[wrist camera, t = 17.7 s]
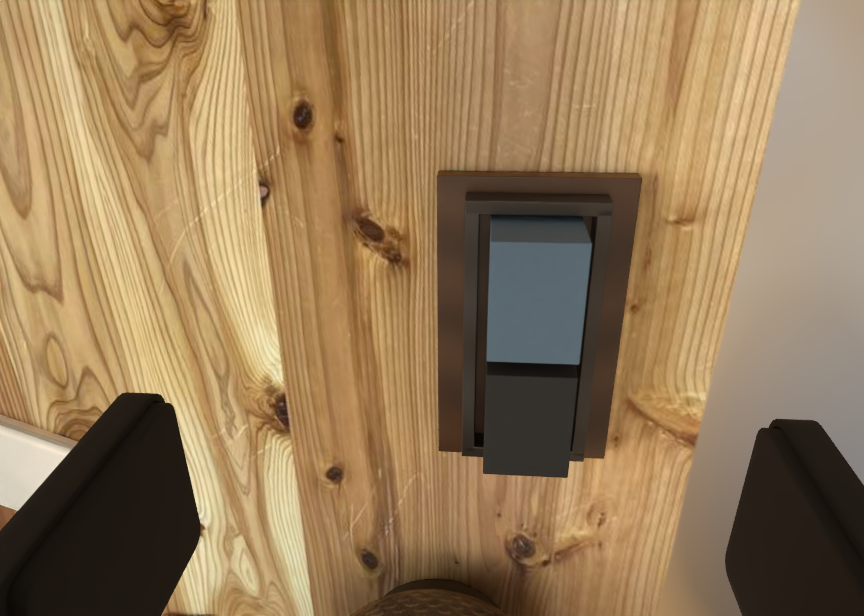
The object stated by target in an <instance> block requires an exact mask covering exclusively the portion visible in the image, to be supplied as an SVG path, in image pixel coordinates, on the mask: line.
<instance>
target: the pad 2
mask: <svg viewBox="0 0 864 616" xmlns="http://www.w3.org/2000/svg"><path fill="white" fill-rule="evenodd" d="M577 383H578V377H577V372H576V367H575V364H547V363H519V362H491V361H487V350H486V381H485V413H484V451H483V473H484V474H500V475H520V476H541V477H562V478H567V477H568V468H569V458H570V449H571V440H572V430H573V421H574V411H575V402H576V393H577Z"/></svg>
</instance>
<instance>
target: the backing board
mask: <svg viewBox="0 0 864 616" xmlns="http://www.w3.org/2000/svg"><path fill="white" fill-rule="evenodd" d="M641 183H642V178H641V176H640V175H639V174H638V173H562V172H485V171H438V174H437V258H438V411H439V451H449V452H462V456H474V457H483V451H484V413H485V381H486V350H487V316H488V285H489V254H490V222H491V215H531V216H582V217H583V220H584V223H585V226H586V228H587V231H588V234H589V237H590V240H591V243H592V251H591V260H590V270H589V279H588V288H587V298H586V307H585V317H584V326H583V335H582V345H581V354H580V363H579V365H575V367H576V372H577V377H578V383H577V393H576V402H575V411H574V421H573V430H572V440H571V449H570V458H569V461H581V462H583V461H584V458H601V459H604V455H605V448H606V440H607V433H608V426H609V418H610V411H611V404H612V396H613V389H614V382H615V374H616V367H617V359H618V352H619V345H620V337H621V330H622V323H623V315H624V308H625V301H626V293H627V286H628V279H629V271H630V264H631V256H632V249H633V242H634V234H635V227H636V220H637V212H638V205H639V198H640V190H641Z"/></svg>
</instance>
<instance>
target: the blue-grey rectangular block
mask: <svg viewBox="0 0 864 616" xmlns="http://www.w3.org/2000/svg"><path fill="white" fill-rule="evenodd" d="M591 251H592V243H591V240H590V237H589V234H588V231H587V228H586V226H585V223H584V220H583V217H582V216H531V215H491V222H490V254H489V285H488V316H487V361H491V362H519V363H547V364H575V365H579V363H580V354H581V345H582V335H583V326H584V317H585V307H586V298H587V288H588V279H589V270H590V260H591Z"/></svg>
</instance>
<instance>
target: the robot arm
mask: <svg viewBox="0 0 864 616" xmlns="http://www.w3.org/2000/svg"><path fill="white" fill-rule="evenodd" d="M199 537H200V520H199V516H198V511H197V507H196V503H195V498H194V494H193V489H192V485H191V480H190V476H189V471H188V467H187V463H186V458H185V454H184V449H183V445H182V440H181V436H180V431H179V427H178V423H177V418H176V414H175V410H174V407H173V406H172V404H170V403H165V401H164V399H163V397H162V396H161V395H159V394H150V393H122V394H121V395H120V396H118V397H117V399H116V400H115V401H114V402H113V403H112V404H111V405H110V406H109V408H108V409H107V410H106V411H105V412H104V413H103V414H102V416H101V417H100V418H99V419H98V420H97V421H96V422H95V424H94V425H93V426H92V427H91V428H90V429H89V430H88V432H87V433H86V434H85V435H84V436H83V437H82V438H81V440H80V441H79V442H78V443H77V444H76V445H75V446H74V448H73V449H72V450H71V451H70V452H69V453H68V454H67V456H66V457H65V458H64V459H63V460H62V461H61V462H60V463H59V465H58V466H57V467H56V468H55V469H54V470H53V471H52V473H51V474H50V475H49V476H48V477H47V478H46V479H45V481H44V482H43V483H42V484H41V485H40V486H39V487H38V489H37V490H36V491H35V492H34V493H33V494H32V495H31V497H30V498H29V499H28V500H27V501H26V502H25V503H24V505H23V506H22V507H21V508H20V509H19V510H18V511H17V513H16V514H15V515H14V516H13V517H12V518H11V519H10V521H9V522H8V523H7V524H6V525H5V526H4V527H3V528H2V530H1V531H0V616H161V615H162V613H163V611H164V609H165V607H166V605H167V603H168V601H169V599H170V597H171V595H172V593H173V591H174V589H175V588H176V586H177V584H178V582H179V580H180V578H181V576H182V574H183V572H184V570H185V568H186V566H187V564H188V562H189V560H190V558H191V556H192V554H193V553H194V551H195V549H196V546H197V544H198V541H199ZM725 564H726V572H727V576H728V579H729V582H730V585H731V587H732V590H733V592H734V595H735V597H736V600H737V602H738V605H739V608H740V611H741V613H742V616H864V485H863V484H862V483H861V481H860V480H859V478H858V477H857V475H856V474H855V473H854V471H853V470H852V468H851V467H850V466H849V464H848V463H847V461H846V460H845V458H844V457H843V456H842V454H841V453H840V451H839V450H838V449H837V447H836V446H835V444H834V443H833V442H832V440H831V439H830V437H829V436H828V435H827V433H826V432H825V430H824V429H823V428H822V426H821V425H820V424H819V423H818V422H816V421H813V420H791V419H790V420H789V419H775V420H773V421H772V422H771V424H770V426H769V428H761V429H760V430H759V431H758V434H757V436H756V440H755V444H754V448H753V451H752V455H751V459H750V463H749V467H748V471H747V474H746V478H745V482H744V486H743V490H742V494H741V497H740V501H739V505H738V509H737V512H736V516H735V521H734V524H733V528H732V532H731V535H730V539H729V543H728V547H727V551H726V558H725Z"/></svg>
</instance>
